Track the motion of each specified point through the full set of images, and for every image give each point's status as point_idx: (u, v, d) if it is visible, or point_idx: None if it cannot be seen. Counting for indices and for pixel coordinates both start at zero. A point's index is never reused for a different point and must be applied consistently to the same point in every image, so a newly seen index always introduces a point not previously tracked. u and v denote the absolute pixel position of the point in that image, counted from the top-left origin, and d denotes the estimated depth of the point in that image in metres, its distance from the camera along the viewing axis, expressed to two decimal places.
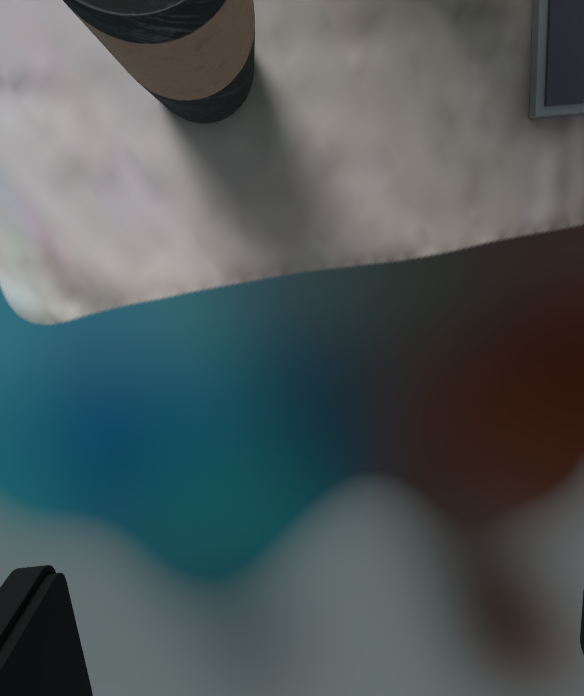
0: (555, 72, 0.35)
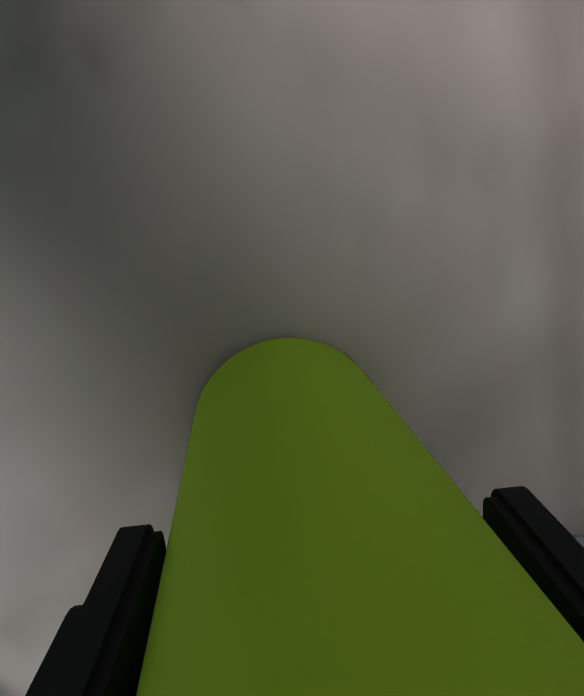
0: None
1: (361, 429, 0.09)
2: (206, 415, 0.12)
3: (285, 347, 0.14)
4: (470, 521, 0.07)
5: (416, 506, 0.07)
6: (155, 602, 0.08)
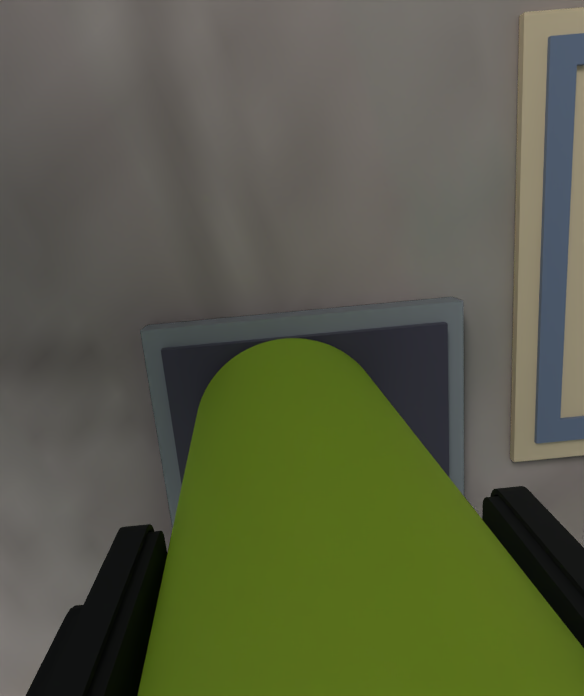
0: None
1: (362, 432, 0.09)
2: (208, 416, 0.12)
3: (287, 347, 0.14)
4: (472, 527, 0.07)
5: (417, 512, 0.07)
6: (156, 606, 0.08)
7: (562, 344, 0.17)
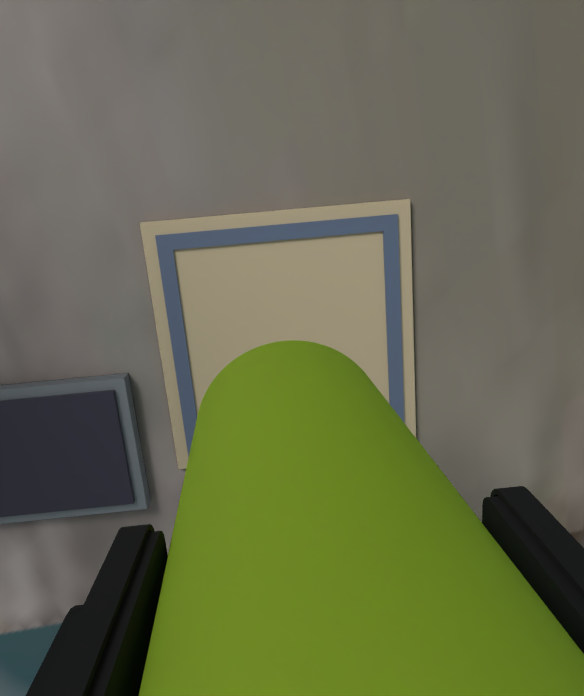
0: None
1: (363, 437, 0.09)
2: (208, 419, 0.12)
3: (287, 350, 0.14)
4: (472, 533, 0.07)
5: (418, 518, 0.06)
6: (156, 611, 0.08)
7: (193, 400, 0.28)
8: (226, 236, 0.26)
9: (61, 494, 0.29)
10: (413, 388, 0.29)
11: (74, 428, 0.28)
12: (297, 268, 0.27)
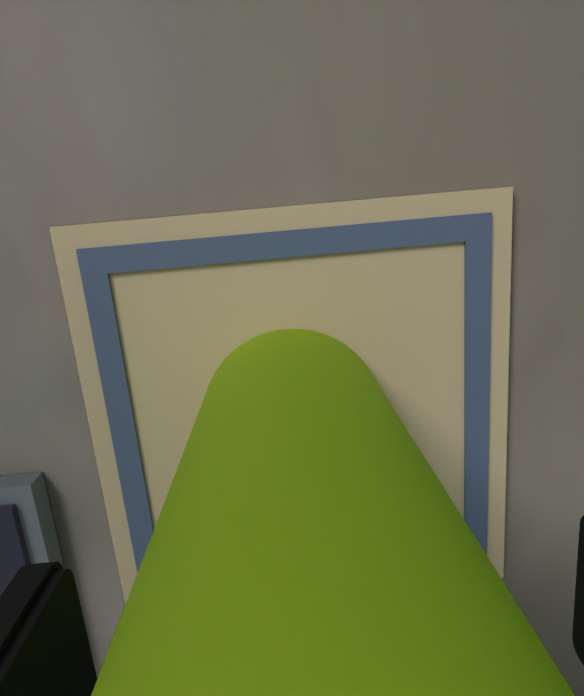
0: None
1: (337, 406, 0.10)
2: (209, 396, 0.13)
3: (287, 336, 0.15)
4: (419, 484, 0.08)
5: (369, 467, 0.07)
6: None
7: (148, 516, 0.17)
8: (199, 250, 0.15)
9: None
10: (503, 492, 0.18)
11: None
12: (319, 303, 0.16)
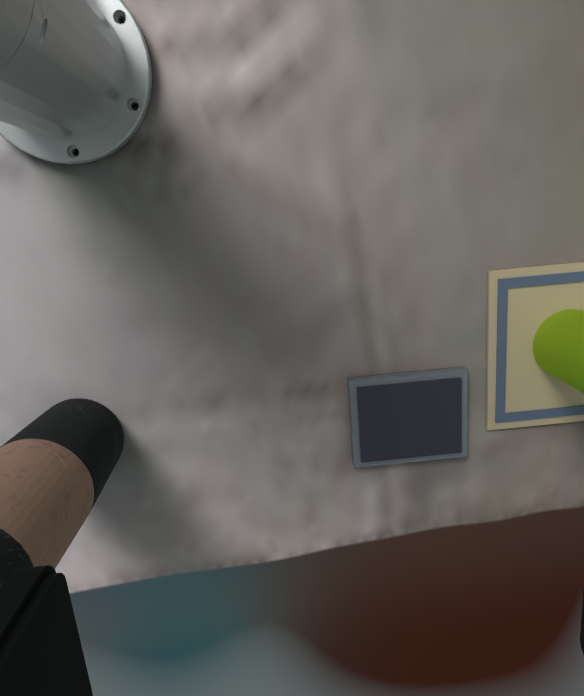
0: (366, 440, 0.43)
1: None
2: (564, 330, 0.39)
3: (577, 311, 0.41)
4: None
5: None
6: None
7: (505, 384, 0.43)
8: (542, 279, 0.41)
9: (417, 446, 0.44)
10: None
11: (433, 402, 0.43)
12: (582, 299, 0.42)
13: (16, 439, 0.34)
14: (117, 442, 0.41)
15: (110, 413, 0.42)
